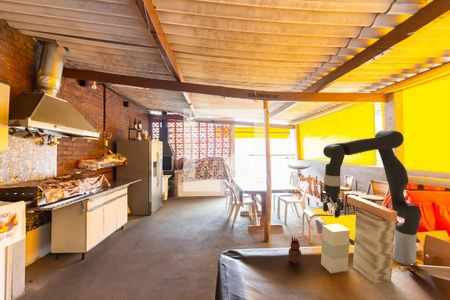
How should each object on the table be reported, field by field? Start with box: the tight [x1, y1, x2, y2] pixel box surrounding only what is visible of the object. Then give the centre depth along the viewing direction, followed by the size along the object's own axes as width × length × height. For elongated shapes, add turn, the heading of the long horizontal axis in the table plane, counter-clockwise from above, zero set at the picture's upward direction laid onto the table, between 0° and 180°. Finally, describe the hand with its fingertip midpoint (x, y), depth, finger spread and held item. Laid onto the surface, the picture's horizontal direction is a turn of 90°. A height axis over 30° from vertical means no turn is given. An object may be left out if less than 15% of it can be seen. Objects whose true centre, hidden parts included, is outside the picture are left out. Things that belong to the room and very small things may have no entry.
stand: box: [352, 208, 397, 284], centre depth 112 cm, size 10×13×32 cm
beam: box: [346, 194, 398, 221], centre depth 113 cm, size 4×26×4 cm, turn 12°
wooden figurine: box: [288, 236, 302, 264], centre depth 123 cm, size 7×6×15 cm
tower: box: [320, 223, 351, 274], centre depth 117 cm, size 10×8×22 cm
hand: (330, 214), depth 115 cm, fingers open, 8 cm apart
